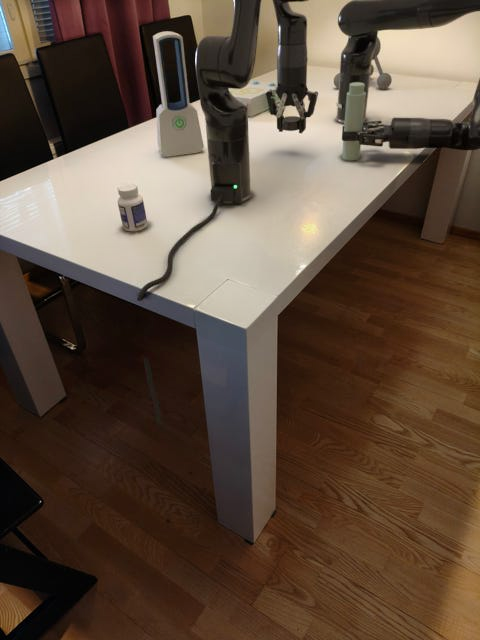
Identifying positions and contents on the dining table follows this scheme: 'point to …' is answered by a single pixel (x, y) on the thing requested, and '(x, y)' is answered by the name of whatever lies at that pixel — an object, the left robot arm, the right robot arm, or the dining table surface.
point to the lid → (290, 123)
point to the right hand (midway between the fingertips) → (342, 133)
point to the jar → (354, 119)
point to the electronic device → (176, 106)
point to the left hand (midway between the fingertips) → (291, 131)
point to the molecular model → (383, 79)
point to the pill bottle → (131, 208)
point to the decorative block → (255, 96)
